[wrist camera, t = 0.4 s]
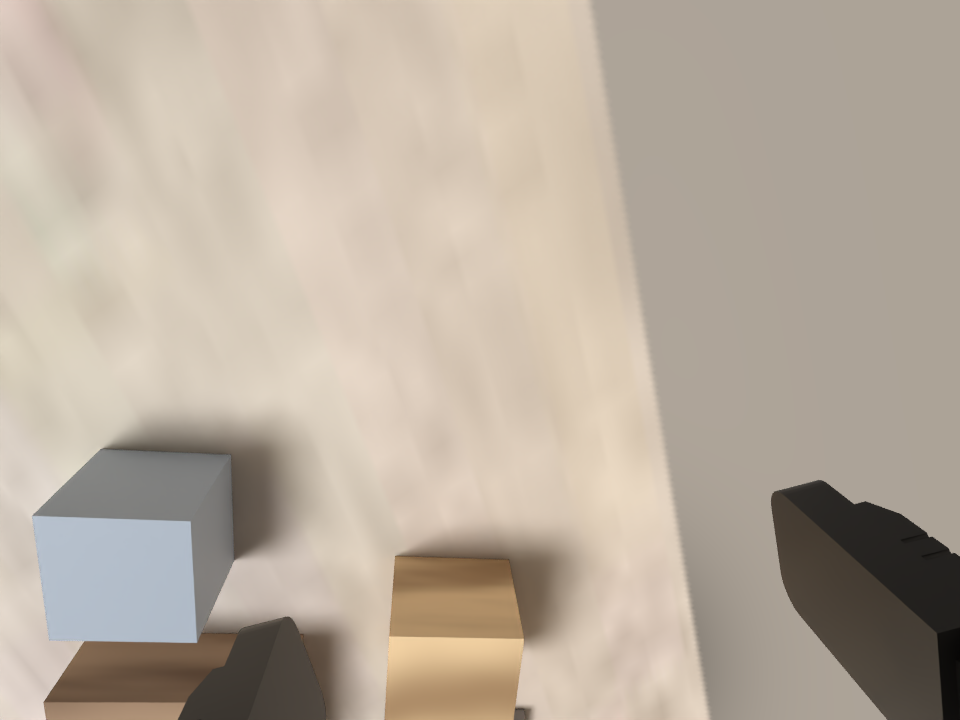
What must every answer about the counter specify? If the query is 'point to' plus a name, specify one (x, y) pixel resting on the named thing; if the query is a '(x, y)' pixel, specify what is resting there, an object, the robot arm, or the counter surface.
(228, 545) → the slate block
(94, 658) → the base block
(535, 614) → the counter surface
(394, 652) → the oak block
